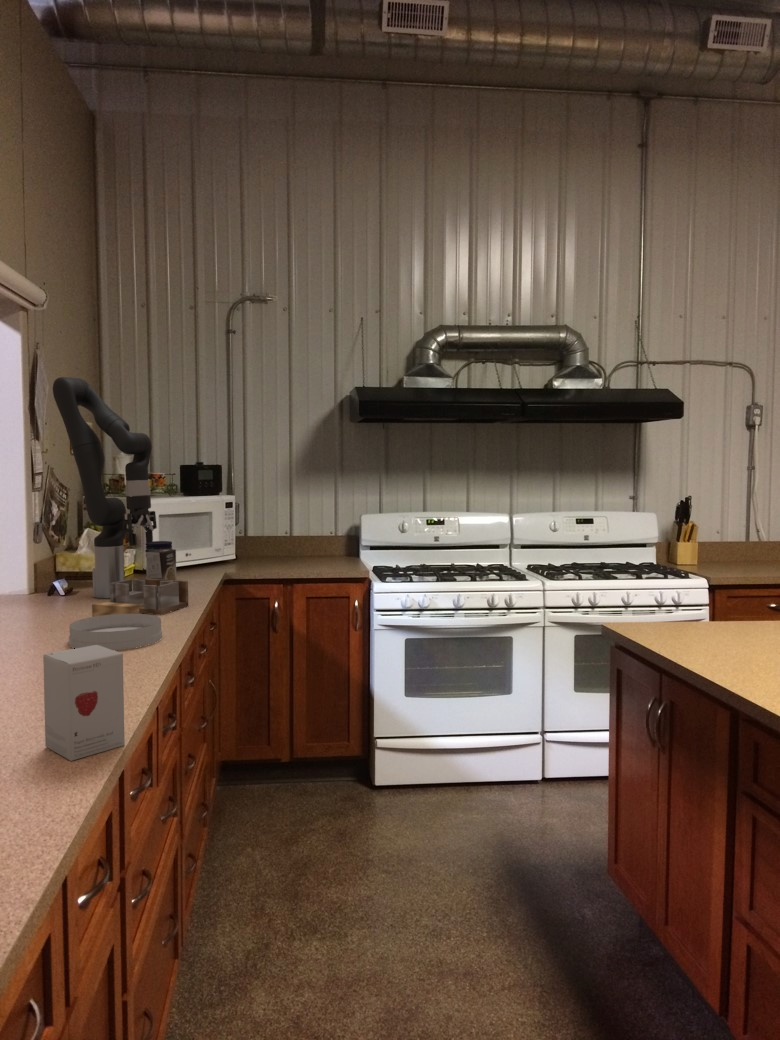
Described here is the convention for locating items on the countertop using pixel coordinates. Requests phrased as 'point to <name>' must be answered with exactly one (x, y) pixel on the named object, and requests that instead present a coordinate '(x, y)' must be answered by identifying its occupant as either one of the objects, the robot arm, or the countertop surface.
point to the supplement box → (83, 701)
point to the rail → (113, 608)
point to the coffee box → (161, 564)
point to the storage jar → (158, 545)
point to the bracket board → (151, 594)
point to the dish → (116, 631)
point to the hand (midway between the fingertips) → (141, 544)
